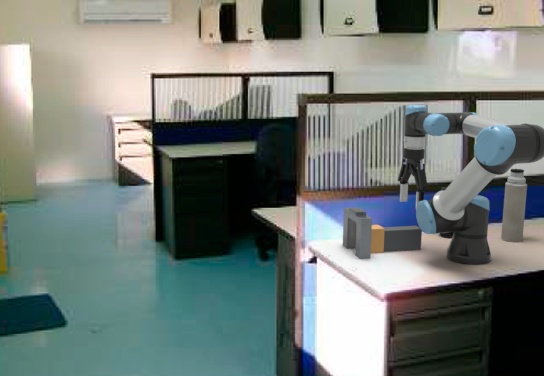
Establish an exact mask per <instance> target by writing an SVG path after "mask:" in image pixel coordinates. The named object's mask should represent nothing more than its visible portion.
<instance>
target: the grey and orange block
mask: <svg viewBox="0 0 544 376" xmlns="http://www.w3.org/2000/svg"><path fill="white" fill-rule="evenodd" d="M422 234H423V231H422V230H421V229H420V227H419V226H417V225H408V226H407V225H403V226H385V227H384V226H381V225H379V224H372V231H371V254H380V253H381V254H383V253H390V252H392V253H393V252H403V251H404V252H409V251H421V250H422Z"/></svg>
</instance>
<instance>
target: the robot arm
mask: <svg viewBox="0 0 544 376" xmlns="http://www.w3.org/2000/svg"><path fill="white" fill-rule="evenodd" d="M403 135H404V138H403V147H404V148H403V155H402V156H403V158H402V163H401V167H400V170H399V173H398V178H397V181H398V182H399V184H400V188H399V189H400V190H399V202H400V203H401V202H408V193H409V192H408V191H409V179H410V178H411V175H412V176H413V178H414V182H415V185H416V190H415V192H416V195H415V211H416V212H415V216H416V218H415V219H416V222H417V224H418V227H419V228H420V229H421V230H422V233H424V234H426V235H436V234H440V233H447V232H453V236H451V240H450V243H449V245H448V247H447V249H446V258H447V259H448V260H450V261H453V262H455V263H459V264H467V265H483V264H487V263H488V264H489V263H490V262H491V260H492V253H491V249H490V246H489V241H488V231H489V229H488V228H489V218H490V217H489V216H490V211H491V210H490V200H489V199H488V197H486V196H483V195H479V194H480V193H481V191H482V190H483V189H484V188H485V187H486V186H487V185H488V184H489V183H490V182H491V181H492V180H493V179H494V178H495V177H496V176H501V175H504V174H506V173H507V172H508V171H509V170H511V169H512V167H513V166H515V165H517V164H532V163H535V162H538V161H540V160H542V159H543V158H544V127H542V126H540V125H539V124H530V123H520V124H515V123H510V122H507V121H502V120H498V119H495V118H494V119H493V118H489V117H485V116H481V115H478V113H477V112H473V111H472V112H470V111H465V112H428V107H427V106H426V105H422V104H409V105H407V106H406V107H405V115H404V134H403ZM426 135H430V136H433V137H441V136H443V135H464V136H468V137H471V138H475V142H476V143H474V145H473V150H474V152H473V153H474V157H473V158H472V160H470V162H469V163H468V164H467V165H466V166H465V167H464V168H463V169H462V171H461V172H460V173H459V174H458V175H457V176H456V177H455V178H454V179H453V180H452V182H451V183H450V184H448V186H446V187H447V189H446V190H443V191H441V190H439V191H437V192H436V193H434V194H433V196H432V197H431V198H430V199H428V200H427V199H425V192H427V191H429V187H428V182H427V174H426V164H425V163H421V160H424V159H425V149H424V148H425V147H426Z"/></svg>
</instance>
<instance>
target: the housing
mask: <svg viewBox="0 0 544 376" xmlns="http://www.w3.org/2000/svg"><path fill="white" fill-rule="evenodd" d="M342 224H343V226H342V246H343V247H344V248H346V249H355V250H354V252H355V254H354V255H355V257H357V258H358V259H359V260H365V259H371V254H372V253H371V231H372V225H373V218H372V217H370V216H369V215H368V214H367V211H366V210H364V208H361V207H358V206H357V207H354V206H353V207H343V223H342Z"/></svg>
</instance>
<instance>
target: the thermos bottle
mask: <svg viewBox="0 0 544 376" xmlns="http://www.w3.org/2000/svg"><path fill="white" fill-rule="evenodd" d="M524 172H525V169H522V168H510V175H509V176H508V177H507V181H506V182H505V185H504V186H505V187H504V198H503V210H502V222H501V223H502V224H501V235H500V238H501V240H502V241H505V242H511V243H520V242H522V241H523V239H524V227H525V217H526V216H525V215H526V202H527V190H528V183H526V182H527V180H526V178H525V177H524V175H525V174H524Z"/></svg>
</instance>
